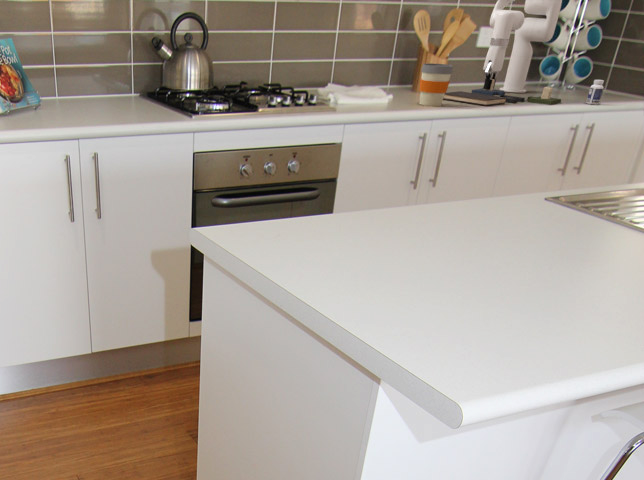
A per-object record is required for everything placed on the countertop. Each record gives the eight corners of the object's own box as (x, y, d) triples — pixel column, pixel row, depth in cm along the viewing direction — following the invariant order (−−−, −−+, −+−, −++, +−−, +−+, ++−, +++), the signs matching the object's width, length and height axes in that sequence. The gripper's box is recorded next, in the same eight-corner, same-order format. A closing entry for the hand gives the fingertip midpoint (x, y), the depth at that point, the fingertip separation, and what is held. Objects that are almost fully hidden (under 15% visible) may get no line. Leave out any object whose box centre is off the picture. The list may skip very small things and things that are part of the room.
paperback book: (485, 105, 310) (487, 99, 309) (440, 98, 324) (441, 93, 323) (505, 103, 319) (506, 97, 317) (460, 96, 333) (461, 91, 332)
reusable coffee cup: (451, 106, 305) (459, 66, 297) (425, 106, 302) (433, 66, 294) (434, 102, 315) (442, 63, 307) (409, 102, 312) (416, 63, 304)
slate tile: (482, 91, 339) (486, 77, 336) (508, 94, 332) (512, 80, 329) (471, 93, 332) (474, 78, 329) (497, 96, 325) (500, 81, 322)
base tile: (503, 98, 335) (503, 95, 334) (524, 101, 329) (525, 97, 328) (491, 100, 327) (492, 96, 326) (512, 103, 321) (513, 99, 321)
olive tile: (533, 99, 337) (537, 84, 333) (560, 102, 329) (564, 88, 326) (522, 101, 329) (526, 86, 326) (550, 104, 322) (554, 89, 319)
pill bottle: (600, 104, 330) (607, 80, 324) (596, 105, 326) (603, 81, 321) (587, 102, 333) (595, 79, 327) (583, 103, 329) (591, 79, 324)
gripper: (499, 42, 329) (488, 87, 339) (483, 42, 319) (472, 89, 329) (515, 43, 325) (503, 88, 335) (499, 44, 315) (488, 91, 325)
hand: (488, 88), depth 332 cm, fingers closed on slate tile, 3 cm apart
